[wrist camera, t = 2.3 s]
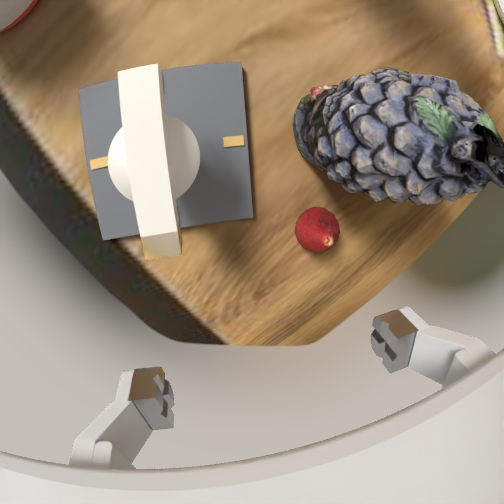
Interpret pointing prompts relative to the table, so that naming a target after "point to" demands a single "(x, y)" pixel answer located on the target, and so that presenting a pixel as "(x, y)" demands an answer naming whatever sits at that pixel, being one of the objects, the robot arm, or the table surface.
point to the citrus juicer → (14, 12)
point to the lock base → (206, 133)
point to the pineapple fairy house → (400, 137)
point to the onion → (317, 229)
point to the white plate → (500, 8)
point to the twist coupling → (152, 160)
